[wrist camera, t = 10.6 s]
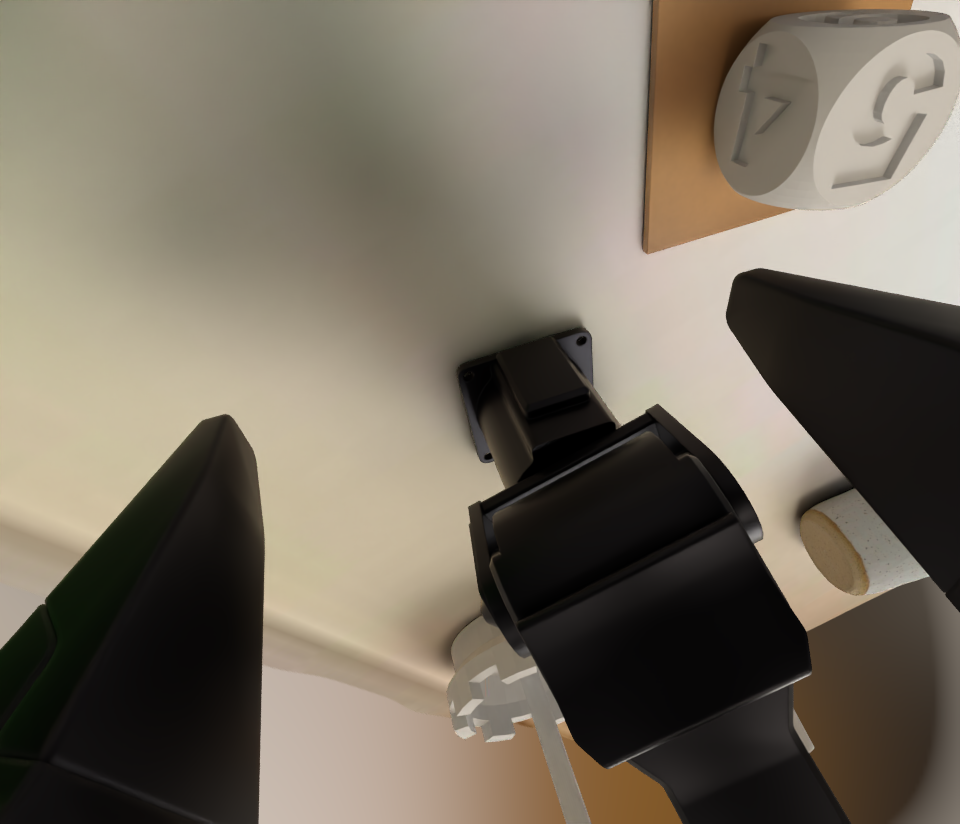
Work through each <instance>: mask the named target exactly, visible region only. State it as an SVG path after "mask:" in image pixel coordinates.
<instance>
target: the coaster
mask: <svg viewBox="0 0 960 824" xmlns="http://www.w3.org/2000/svg"><path fill="white" fill-rule="evenodd" d="M912 3H913V0H653V17H652V42H651V66H650V91H649V116H648V140H647V165H646V189H645V214H644V239H643V251H644V252H645V253H646V254H650V253H654V252H657V251H660V250H664V249H667V248H670V247H673V246H677V245H680V244H683V243H687V242H690V241H693V240H696V239H700V238H703V237H706V236H710V235H713V234H716V233H719V232H723V231H726V230H729V229H733V228H736V227H739V226H742V225H746V224H749V223H752V222H756V221H759V220H762V219H765V218H769V217H772V216H775V215H779V214H782V213H785V212H788V211H792V210H795V209H789V208H782V207H776V206H771V205H767V204H763V203H759V202H756V201H753V200H750V199H748V198H746V197H743V196H741V195H740V194H738V193H737V192H735V191H734V190H733V189H732V188H731V186H730V185H729V183H728V182H727V180H726V179H725V177H724V176H723V174H722V172H721V170H720V167H719V164H718V161H717V157H716V152H715V145H714V121H715V113H716V107H717V103H718V99H719V95H720V92H721V89H722V86H723V83H724V81H725V79H726V76H727V74H728V72H729V70H730V68H731V67H732V65H733V63H734V62H735V60H736V59H737V57H738V56H739V54H740V53H741V51H742V50H743V48H744V47H745V46H746V45H747V43H748V42H749V41H750V40H751V38H752V37H753V36H754V35H755V34H756V33H757V32H758V31H759V30H760V29H761V28H762V27H763V26H764V25H765V24H766V23H767V22H768V21H769V20H770V19H771V18H774V17H777V16H781V15H786V14H793V13H802V12H813V11H827V10H852V9H898V10H910V9H911V6H912Z"/></svg>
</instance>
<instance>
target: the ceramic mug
mask: <svg viewBox="0 0 960 824" xmlns="http://www.w3.org/2000/svg"><path fill="white" fill-rule="evenodd" d="M800 534H801V538H802V541H803V544H804V546H805V548H806V550H807V552H808V554H809V556H810V557H811V559H812V561H813V563H814V564H815V565H816V567H817V568H818V570H819V571H820V572H821V573H822V574H823V575H824V577H825V578H826V579H827V580H828V581H829V582H830V583H831V584H833V585H834V586H835V587H837V588H838V589H840V590H842V591H843V592H846V593H848V594H851V595H869V594H875V593H880V592H883V591H886V590H889V589H892V588H895V587H898V586H900V585H903V584H906V583H909V582H913V581H916V580H919V579H922V578H926V577H929V575H928V574H927V573H926V571H925V570H924V569H923V568H922V567H921V566H920V564H919V563H918V562H917V561H916V560H915V559H914V557H913V556H912V555H911V554H910V553H909V551H908V550H907V549H906V548H905V547H904V546H903V544H902V543H901V542H900V541H899V540H898V538H897V537H896V536H895V535H894V534H893V533H892V531H891V530H890V529H889V528H888V527H887V526H886V524H885V523H884V522H883V521H882V520H881V518H880V517H879V516H878V515H877V514H876V513H875V511H874V510H873V509H872V508H871V507H870V505H869V504H868V503H867V502H866V501H865V500H864V498H863V497H862V496H861V495H860V494H859V492H858V491H857V490H856V489H855V488H854V489H851V490H849V491H847V492H845V493H843V494H840V495H838V496H835V497H833V498H830V499H828V500H826V501H823V502H821V503H819V504H817V505H815V506H814V507H812V508H811V509H809V510H808V511H806V512H805V513H804V514H803V516H802V518H801V522H800Z"/></svg>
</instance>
